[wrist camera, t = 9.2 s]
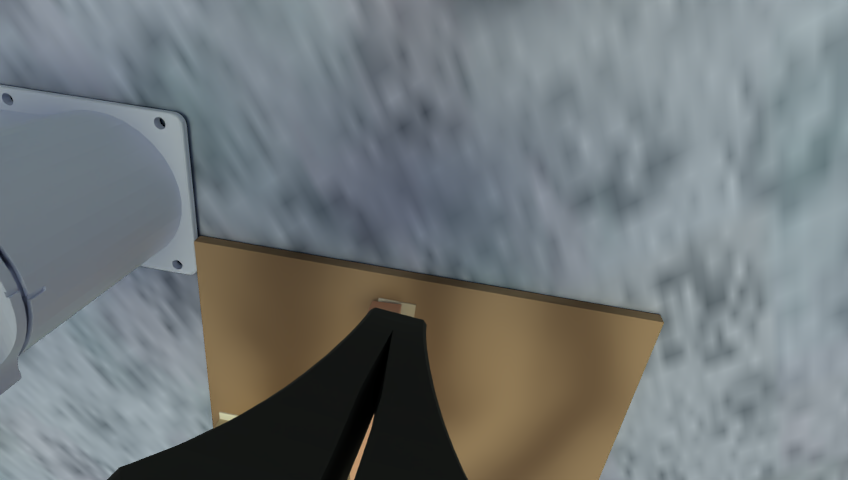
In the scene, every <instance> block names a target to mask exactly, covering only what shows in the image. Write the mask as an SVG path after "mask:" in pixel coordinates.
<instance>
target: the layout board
mask: <svg viewBox="0 0 848 480" xmlns="http://www.w3.org/2000/svg"><path fill="white" fill-rule="evenodd" d="M194 247H195V257H196V266H197V276H198V285H199V295H200V304H201V314H202V324H203V333H204V343H205V352H206V362H207V372H208V381H209V391H210V400H211V410H212V420H213V428H214V427H215V425H216V424H217V422H218V421H219V419H224V420H231V419H233V418H235V417H237V416H239V415H240V414H242V413H244V412H246V411H247V410H249V409H251V408H252V407H254V406H256V405H257V404H259V403H261V402H262V401H264V400H266V399H267V398H269V397H271V396H272V395H274V394H275V393H277V392H278V391H280V390H281V389H283V388H284V387H286V386H287V385H288V384H290V383H291V382H293V381H294V380H295V379H297V378H298V377H299V376H301V375H302V374H303V373H305V372H306V371H307V370H308V369H310V368H311V367H312V366H313V365H315V364H316V363H317V362H318V361H320V360H321V359H322V358H323V357H324V356H326V355H327V354H328V353H329V352H330V351H331V350H332V349H333V348H334V347H336V346H337V345H338V344H339V343H340V342H341V341H342V340H343V339H344V338H345V337H346V336H347V335H348V334H349V333H350V332H351V331H352V330H353V329H354V328H355V327H356V326H357V325H358V324H359V323H360V322H361V321H362V319H363V318H364V317H365V316H366V315H367V312H368V310H369V308H370V305H371V303H372V301H378V302H385V303H392V304H399V305H401V314H403V315H407V316H411V317H415V318H419V319H422V320H424V321H425V323H426V324H427V327H426V342H427V351H428V359H429V365H430V370H431V375H432V379H433V384H434V388H435V392H436V396H437V400H438V403H439V407H440V410H441V414H442V417H443V420H444V423H445V426H446V429H447V431H448V434H449V437H450V439H451V442H452V445H453V447H454V450H455V452H456V454H457V457H458V459H459V461H460V464H461V466H462V468H463V470H464V472H465V474H466V476H467V478H468V480H599V477H600V475H601V472H602V470H603V468H604V465H605V463H606V460H607V458H608V456H609V453H610V451H611V448H612V446H613V444H614V441H615V439H616V436H617V434H618V432H619V429H620V427H621V424H622V422H623V420H624V417H625V415H626V412H627V410H628V408H629V405H630V403H631V400H632V398H633V396H634V393H635V391H636V388H637V386H638V384H639V381H640V379H641V376H642V374H643V372H644V369H645V367H646V364H647V362H648V360H649V357H650V355H651V352H652V350H653V348H654V345H655V343H656V340H657V338H658V336H659V333H660V331H661V328H662V326H663V324H664V322H663V320H662V318H661V316H660V315H658V314H652V313H646V312H640V311H635V310H629V309H623V308H617V307H611V306H606V305H600V304H594V303H588V302H582V301H576V300H571V299H565V298H559V297H553V296H547V295H542V294H536V293H530V292H524V291H518V290H513V289H507V288H501V287H495V286H489V285H484V284H478V283H472V282H466V281H460V280H455V279H449V278H443V277H437V276H431V275H426V274H420V273H414V272H408V271H402V270H397V269H391V268H385V267H379V266H373V265H368V264H362V263H356V262H350V261H344V260H339V259H333V258H327V257H321V256H315V255H310V254H304V253H298V252H292V251H286V250H281V249H275V248H269V247H263V246H257V245H252V244H246V243H240V242H234V241H228V240H223V239H217V238H211V237H205V236H200V237H198V238H197V239H196V240H195V241H194Z"/></svg>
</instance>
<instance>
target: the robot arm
mask: <svg viewBox="0 0 848 480" xmlns="http://www.w3.org/2000/svg"><path fill="white" fill-rule="evenodd" d="M10 96H11V97H12V99H13V101H12V100H11V98H10ZM160 118H162V119H163V120H164V121H165V124H166V126H165V127H164V126H162V124H161V123H160V121H159V120H160ZM197 238H198V234H197V224H196V214H195V204H194V194H193V184H192V174H191V164H190V154H189V144H188V134H187V125H186V121H185V119H184V118H183V116H182V115H180V114H179V113H177V112H174V111H167V110H161V109H154V108H148V107H141V106H135V105H128V104H122V103H116V102H109V101H103V100H96V99H90V98H83V97H77V96H71V95H64V94H58V93H51V92H45V91H38V90H32V89H25V88H19V87H13V86H6V85H0V395H1V394H2V393H4V392H5V391H6V390H7V389H9V388H10V387H11V386H12V385H14V384H15V383H16V382H17V381H19V380H20V379H21V374H20V371H19V368H18V356H19V355H20V354H22V353H23V352H24V351H26V350H27V349H28V348H30V347H31V346H32V345H34V344H35V343H37V342H38V341H39V340H41V339H42V338H43V337H45V336H46V335H47V334H49V333H50V332H51V331H53V330H54V329H55V328H57V327H58V326H59V325H61V324H62V323H63V322H65V321H66V320H67V319H69V318H70V317H71V316H73V315H74V314H76V313H77V312H78V311H80V310H81V309H82V308H84V307H85V306H86V305H88V304H89V303H90V302H92V301H93V300H94V299H96V298H97V297H98V296H100V295H101V294H102V293H104V292H105V291H106V290H108V289H109V288H110V287H112V286H113V285H115V284H116V283H117V282H119V281H120V280H121V279H123V278H124V277H125V276H127V275H128V274H129V273H131V272H132V271H133V270H135V269H136V268H137V267H139V266H143V267H148V268H154V269H159V270H165V271H171V272H176V273H182V274H187V275H193V274H195V273H196V272H197V266H196V257H195V247H194V241H195V240H196V239H197ZM177 260H178V261H180V262H181V263H182V265H180V264H179V263H178V262H177ZM426 327H427V324H426V323H425V321H424V320H422V319H419V318H415V317H411V316H407V315H403V314H399V313H395V312H391V311H387V310H384V309H380V308H376V307H375V308H373V309H371V310H370V311H369V312H368V313H367V315H366V316H365V317H364V318H363V319H362V321H361V322H360V323H359V324H358V325H357V326H356V327H355V328H354V329H353V330H352V331H351V332H350V333H349V334H348V335H347V336H346V337H345V338H344V339H343V340H342V341H341V342H340V343H339V344H338V345H337V346H336V347H334V348H333V349H332V350H331V351H330V352H329V353H328V354H327V355H326V356H324V357H323V358H322V359H321V360H320V361H318V362H317V363H316V364H315V365H313V366H312V367H311V368H310V369H308V370H307V371H306V372H305V373H303V374H302V375H301V376H299V377H298V378H297V379H295V380H294V381H293V382H291V383H290V384H288V385H287V386H286V387H284V388H283V389H281V390H280V391H278V392H277V393H275V394H274V395H272V396H271V397H269V398H267V399H266V400H264V401H262V402H261V403H259V404H257V405H256V406H254V407H252V408H251V409H249V410H247V411H246V412H244V413H242V414H240V415H239V416H237V417H235V418H233V419H231V420H229V421H227V422H226V423H223V424H221V425H219V426H217V427H215V428H213V429H211V430H209V431H207V432H205V433H203V434H201V435H199V436H197V437H195V438H192V439H190V440H188V441H186V442H184V443H182V444H179V445H177V446H175V447H172V448H170V449H167V450H164V451H162V452H159V453H157V454H154V455H151V456H149V457H146V458H144V459H141V460H139V461H136V462H133V463H131V464H128V465H125V466H122V467H120V468H118V469H117V470H116V471H115V472H114V473H113V474H112V475H111V476H110V477H109V478H108V479H107V480H347V479H348V477H349V474H350V472H351V469H352V467H353V464H354V462H355V459H356V457H357V455H358V452H359V450H360V447H361V445H362V442H363V440H364V437H365V435H366V433H367V430H368V428H369V425H370V423H371V420H372V418H373V415H374V418H373V423H372V428H371V431H370V434H369V437H368V440H367V443H366V446H365V449H364V452H363V455H362V458H361V461H360V464H359V467H358V470H357V473H356V475H355V478H354V480H468V478H467V476H466V474H465V472H464V470H463V468H462V466H461V464H460V461H459V459H458V457H457V454H456V452H455V450H454V447H453V445H452V442H451V439H450V437H449V434H448V431H447V429H446V426H445V423H444V420H443V417H442V414H441V410H440V407H439V403H438V400H437V396H436V392H435V388H434V384H433V379H432V375H431V370H430V365H429V359H428V351H427V342H426Z"/></svg>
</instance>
